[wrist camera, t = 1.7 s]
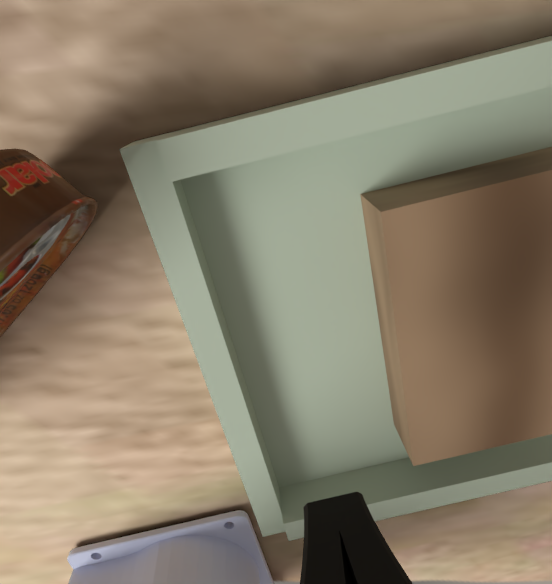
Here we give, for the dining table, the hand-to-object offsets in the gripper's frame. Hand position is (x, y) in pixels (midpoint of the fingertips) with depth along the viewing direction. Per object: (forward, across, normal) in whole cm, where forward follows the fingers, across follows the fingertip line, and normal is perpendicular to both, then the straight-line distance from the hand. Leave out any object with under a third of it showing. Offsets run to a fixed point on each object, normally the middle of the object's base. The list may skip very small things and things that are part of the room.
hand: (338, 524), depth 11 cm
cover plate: (+8, -7, 0) cm, 11 cm away
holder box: (+9, -4, 0) cm, 10 cm away
